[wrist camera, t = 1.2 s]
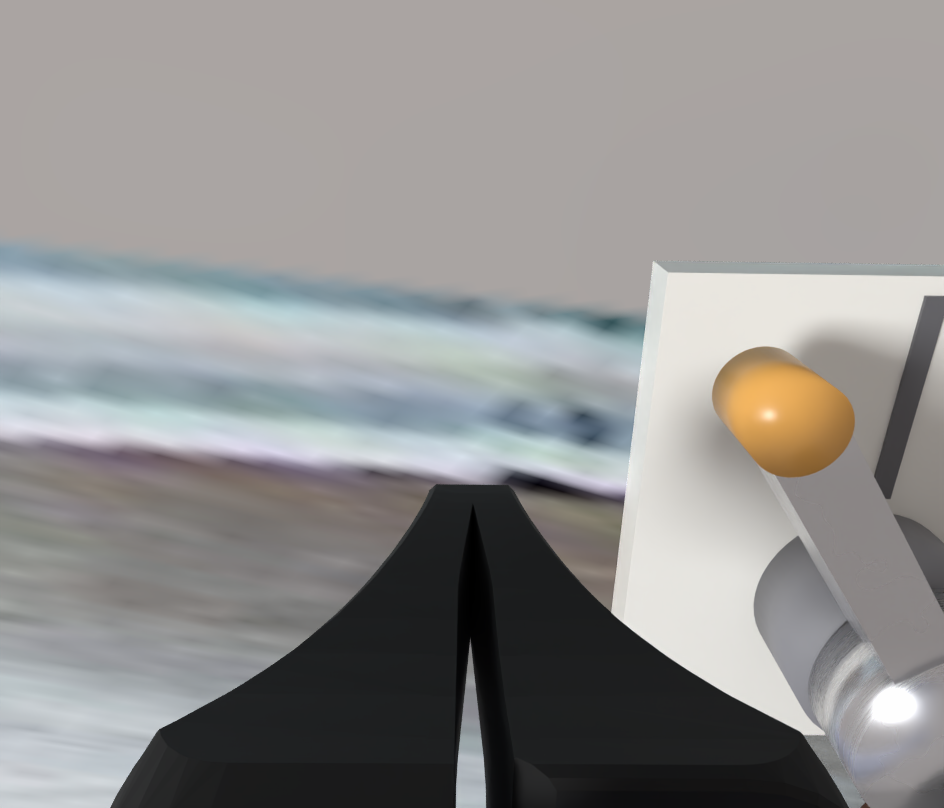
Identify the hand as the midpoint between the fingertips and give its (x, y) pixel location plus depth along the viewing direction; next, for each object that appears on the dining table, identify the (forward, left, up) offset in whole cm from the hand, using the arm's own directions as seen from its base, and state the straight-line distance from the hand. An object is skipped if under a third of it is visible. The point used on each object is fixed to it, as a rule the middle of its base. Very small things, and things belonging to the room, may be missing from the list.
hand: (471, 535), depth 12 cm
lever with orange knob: (-4, -10, -4) cm, 11 cm away
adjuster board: (-5, -12, -9) cm, 16 cm away
